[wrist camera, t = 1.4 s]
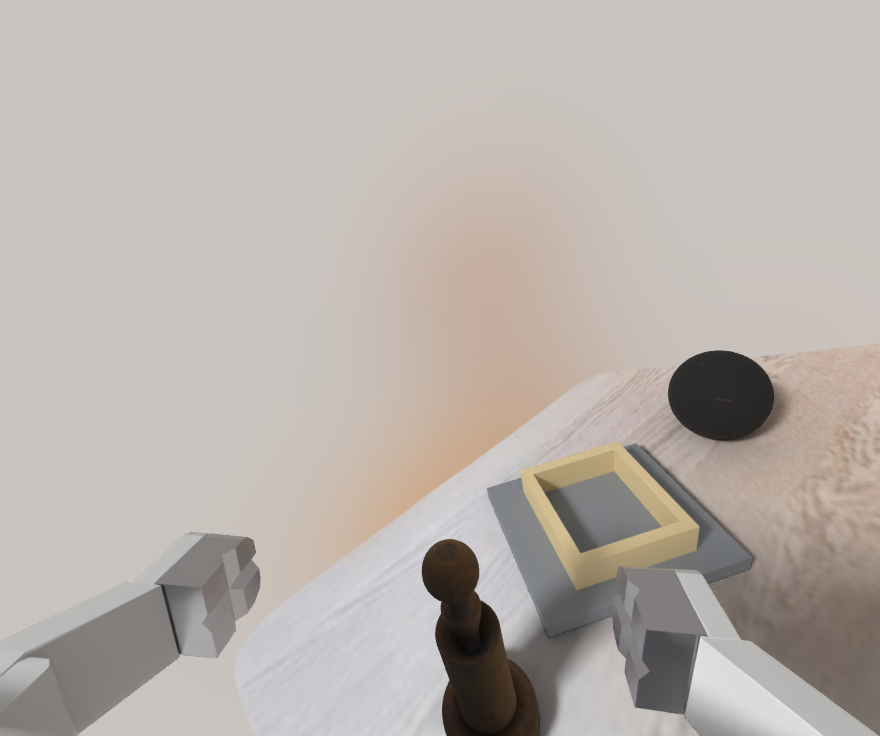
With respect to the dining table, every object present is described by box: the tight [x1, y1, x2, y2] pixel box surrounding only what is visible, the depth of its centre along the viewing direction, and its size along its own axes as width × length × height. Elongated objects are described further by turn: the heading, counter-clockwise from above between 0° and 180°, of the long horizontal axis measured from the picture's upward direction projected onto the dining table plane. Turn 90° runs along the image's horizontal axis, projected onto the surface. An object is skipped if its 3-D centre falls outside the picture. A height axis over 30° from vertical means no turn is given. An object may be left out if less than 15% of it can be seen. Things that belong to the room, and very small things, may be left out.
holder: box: [487, 442, 752, 637], centre depth 41 cm, size 18×16×4 cm
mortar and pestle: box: [422, 539, 540, 736], centre depth 26 cm, size 7×6×18 cm
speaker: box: [668, 351, 774, 440], centre depth 49 cm, size 10×10×10 cm
